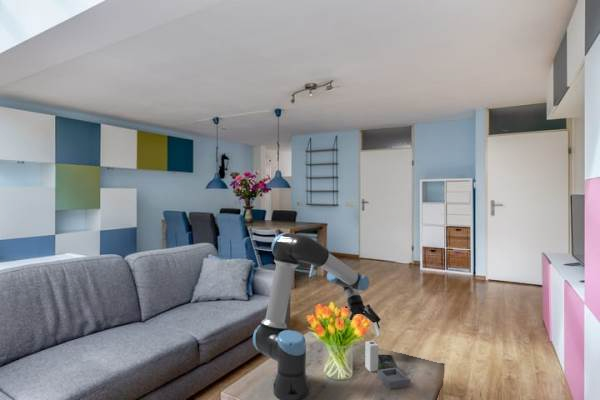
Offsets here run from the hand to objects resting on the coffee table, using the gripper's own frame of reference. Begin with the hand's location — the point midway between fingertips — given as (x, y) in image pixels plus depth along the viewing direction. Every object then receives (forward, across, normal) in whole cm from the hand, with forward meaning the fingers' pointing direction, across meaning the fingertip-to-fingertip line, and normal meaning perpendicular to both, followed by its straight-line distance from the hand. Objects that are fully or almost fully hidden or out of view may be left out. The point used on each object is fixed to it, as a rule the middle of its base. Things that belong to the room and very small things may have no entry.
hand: (366, 337), depth 173 cm
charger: (+13, +1, -3) cm, 14 cm away
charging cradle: (+22, -3, +6) cm, 23 cm away
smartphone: (+12, -9, -6) cm, 16 cm away
